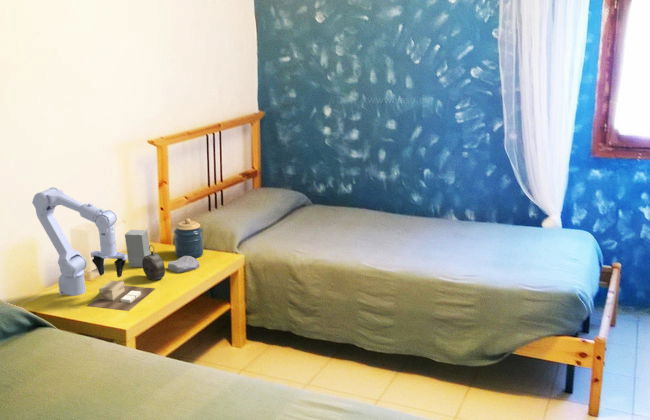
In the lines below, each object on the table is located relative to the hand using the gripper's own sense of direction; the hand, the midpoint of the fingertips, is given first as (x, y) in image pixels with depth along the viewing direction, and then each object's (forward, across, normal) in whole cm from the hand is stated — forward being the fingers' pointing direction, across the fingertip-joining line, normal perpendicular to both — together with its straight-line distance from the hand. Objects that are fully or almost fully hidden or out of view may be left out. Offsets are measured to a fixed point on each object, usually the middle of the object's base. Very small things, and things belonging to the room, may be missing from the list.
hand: (110, 275), depth 270 cm
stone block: (+11, +13, +38) cm, 42 cm away
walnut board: (+10, +4, 0) cm, 11 cm away
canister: (+10, +8, +55) cm, 57 cm away
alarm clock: (+10, +7, +21) cm, 24 cm away
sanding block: (+9, 0, 0) cm, 9 cm away
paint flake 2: (+9, +8, +2) cm, 12 cm away
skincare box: (+10, -8, +37) cm, 39 cm away
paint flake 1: (+9, +8, -2) cm, 12 cm away
